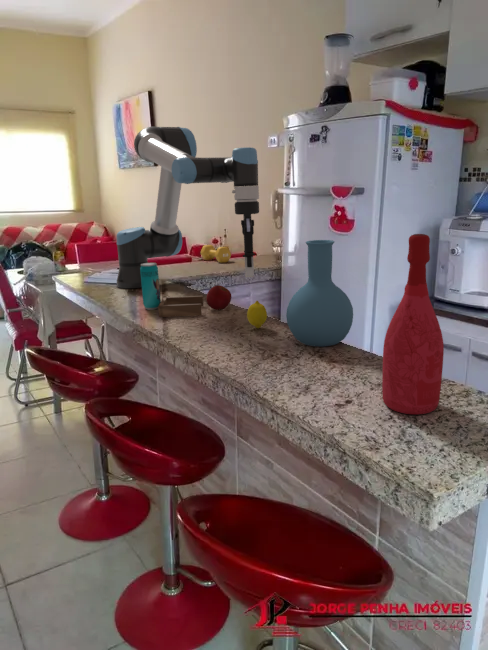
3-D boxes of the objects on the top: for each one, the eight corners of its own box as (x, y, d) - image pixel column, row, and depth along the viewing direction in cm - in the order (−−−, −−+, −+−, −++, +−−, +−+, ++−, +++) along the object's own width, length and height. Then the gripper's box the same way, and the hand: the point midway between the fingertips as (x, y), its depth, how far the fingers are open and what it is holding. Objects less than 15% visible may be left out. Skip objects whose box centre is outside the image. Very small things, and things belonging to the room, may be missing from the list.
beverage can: (157, 310, 166) (153, 265, 162) (141, 310, 167) (136, 265, 163) (163, 306, 171) (160, 262, 167) (147, 306, 172) (143, 262, 168)
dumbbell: (232, 261, 267) (232, 246, 265) (218, 263, 262) (217, 248, 260) (213, 258, 282) (212, 243, 280) (199, 260, 277) (198, 245, 275)
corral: (164, 307, 170) (163, 297, 169) (203, 305, 170) (202, 295, 169) (159, 317, 157) (158, 306, 156) (201, 315, 157) (200, 304, 156)
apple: (215, 314, 158) (214, 289, 156) (203, 309, 165) (201, 285, 163) (236, 310, 162) (235, 285, 160) (223, 305, 169) (221, 282, 167)
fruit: (244, 327, 142) (243, 299, 140) (262, 324, 144) (261, 297, 142) (251, 332, 137) (251, 303, 135) (270, 329, 139) (269, 301, 137)
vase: (360, 335, 131) (363, 238, 124) (342, 354, 117) (343, 246, 110) (300, 329, 138) (300, 237, 132) (276, 346, 124) (274, 244, 118)
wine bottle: (416, 423, 83) (427, 238, 75) (369, 404, 90) (375, 234, 82) (451, 406, 88) (465, 233, 80) (404, 390, 96) (412, 230, 88)
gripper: (234, 201, 161) (237, 274, 167) (234, 201, 148) (238, 281, 155) (257, 200, 161) (260, 273, 167) (260, 200, 149) (262, 279, 155)
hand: (249, 276), depth 161 cm, fingers closed
